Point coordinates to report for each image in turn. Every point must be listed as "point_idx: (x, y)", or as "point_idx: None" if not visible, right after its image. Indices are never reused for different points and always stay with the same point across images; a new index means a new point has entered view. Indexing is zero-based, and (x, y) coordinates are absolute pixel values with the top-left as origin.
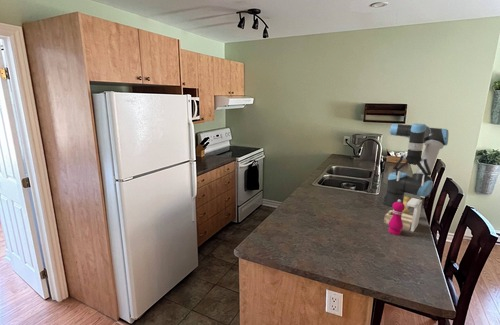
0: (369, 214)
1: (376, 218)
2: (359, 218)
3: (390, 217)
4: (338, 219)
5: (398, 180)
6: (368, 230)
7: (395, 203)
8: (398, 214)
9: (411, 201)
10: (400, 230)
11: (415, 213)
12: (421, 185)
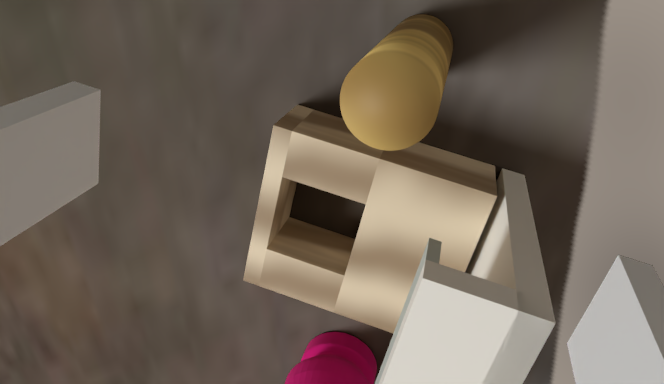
0: (150, 127)
1: (210, 185)
2: (114, 236)
3: (286, 292)
4: (25, 299)
5: (95, 145)
6: (203, 380)
7: None
8: None
9: None
10: (369, 381)
11: None
12: (572, 347)
